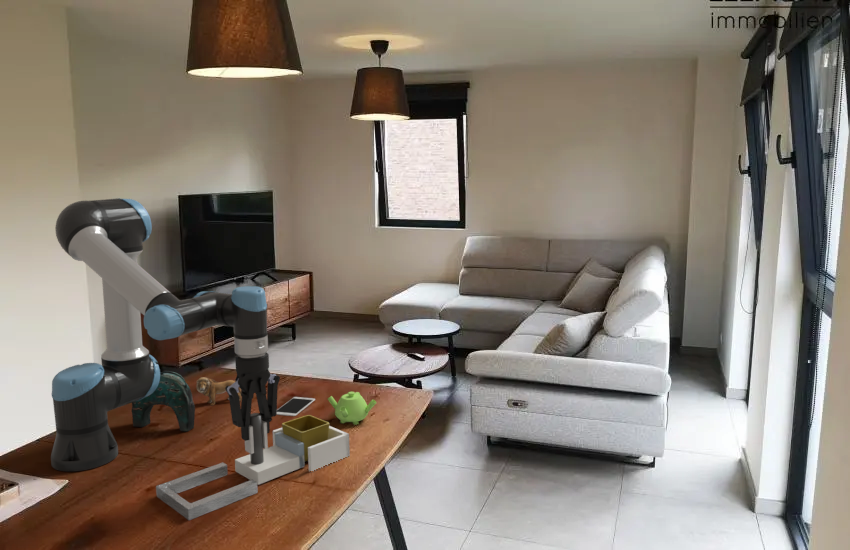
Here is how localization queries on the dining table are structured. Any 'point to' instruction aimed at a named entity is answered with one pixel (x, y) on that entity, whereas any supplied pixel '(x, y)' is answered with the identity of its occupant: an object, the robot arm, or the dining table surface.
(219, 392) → the lion figurine
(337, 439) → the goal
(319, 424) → the flower pot
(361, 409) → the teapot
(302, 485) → the dining table surface
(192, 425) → the teal arched figure
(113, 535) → the dining table surface
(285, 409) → the smartphone
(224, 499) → the rail base
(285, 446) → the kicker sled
